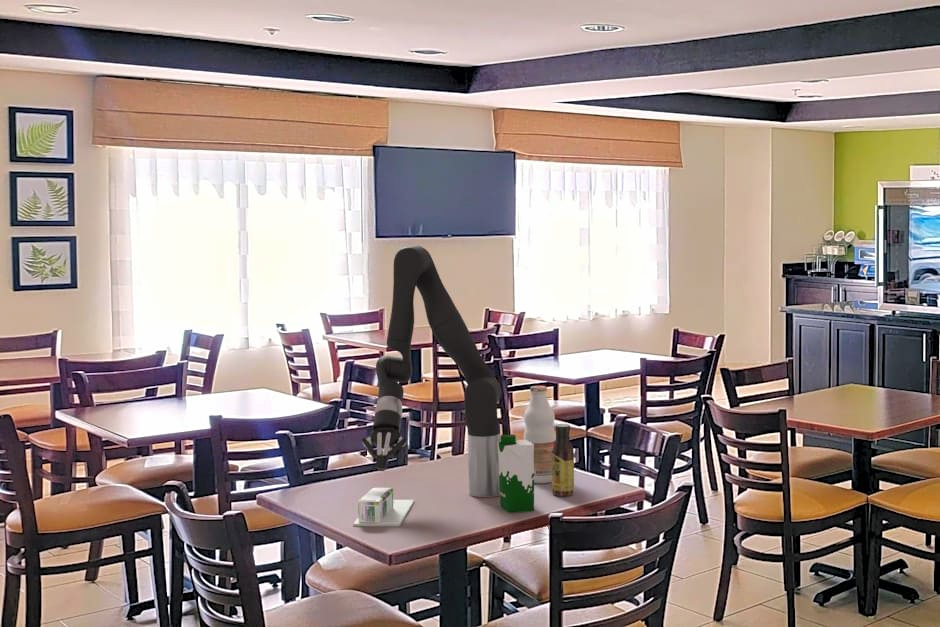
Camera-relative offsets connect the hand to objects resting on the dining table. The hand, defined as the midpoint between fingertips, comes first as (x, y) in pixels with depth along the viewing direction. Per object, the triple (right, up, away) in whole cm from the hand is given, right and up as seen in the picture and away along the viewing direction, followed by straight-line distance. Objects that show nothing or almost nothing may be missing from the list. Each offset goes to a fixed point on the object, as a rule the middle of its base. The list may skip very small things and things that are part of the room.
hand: (381, 469), depth 282 cm
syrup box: (0, -8, +2) cm, 8 cm away
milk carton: (+36, -11, 0) cm, 38 cm away
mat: (+1, -12, -1) cm, 12 cm away
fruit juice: (+45, -8, +31) cm, 55 cm away
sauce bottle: (+50, -9, +14) cm, 53 cm away
